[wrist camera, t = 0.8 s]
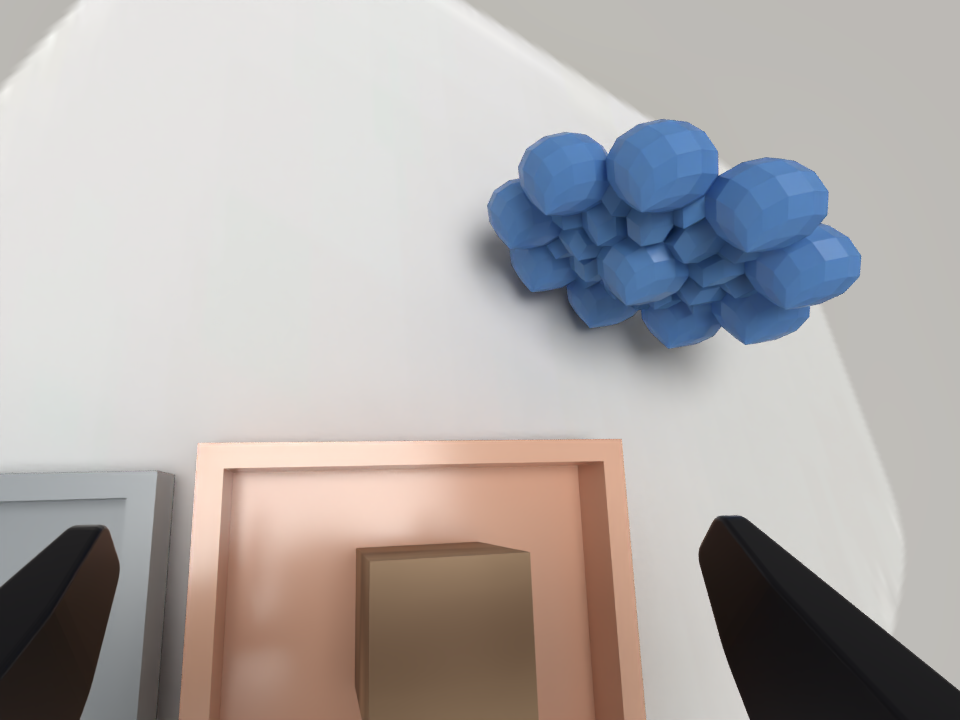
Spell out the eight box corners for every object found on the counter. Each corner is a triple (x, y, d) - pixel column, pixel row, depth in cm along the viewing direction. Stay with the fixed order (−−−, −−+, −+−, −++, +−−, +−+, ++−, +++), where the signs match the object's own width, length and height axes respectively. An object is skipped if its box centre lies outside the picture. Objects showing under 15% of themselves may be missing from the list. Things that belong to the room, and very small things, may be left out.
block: (482, 671, 22) (539, 727, 16) (354, 685, 21) (368, 750, 15) (477, 541, 23) (529, 552, 17) (356, 547, 22) (369, 561, 16)
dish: (611, 756, 23) (652, 791, 20) (189, 820, 19) (168, 873, 17) (588, 446, 26) (621, 439, 23) (213, 451, 22) (197, 442, 19)
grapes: (719, 286, 29) (972, 147, 18) (675, 411, 27) (929, 342, 16) (507, 162, 28) (636, -72, 17) (443, 284, 26) (541, 109, 14)
